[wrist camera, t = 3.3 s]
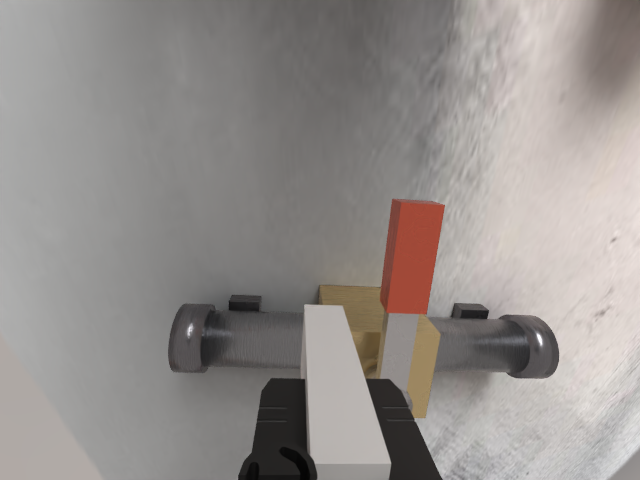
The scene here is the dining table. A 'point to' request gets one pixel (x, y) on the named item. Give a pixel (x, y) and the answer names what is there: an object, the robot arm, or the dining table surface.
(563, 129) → the dining table surface
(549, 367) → the valve pipe
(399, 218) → the lever
